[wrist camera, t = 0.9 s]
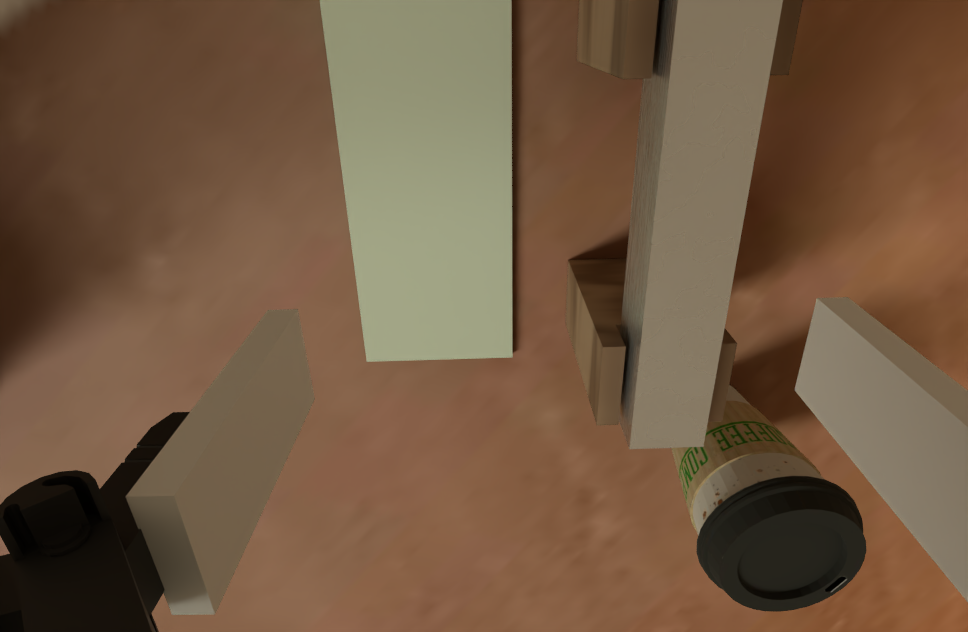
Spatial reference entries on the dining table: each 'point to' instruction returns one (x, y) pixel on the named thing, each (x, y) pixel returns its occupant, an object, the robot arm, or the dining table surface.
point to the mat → (426, 171)
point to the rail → (690, 209)
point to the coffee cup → (767, 514)
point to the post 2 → (615, 337)
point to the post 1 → (652, 36)
